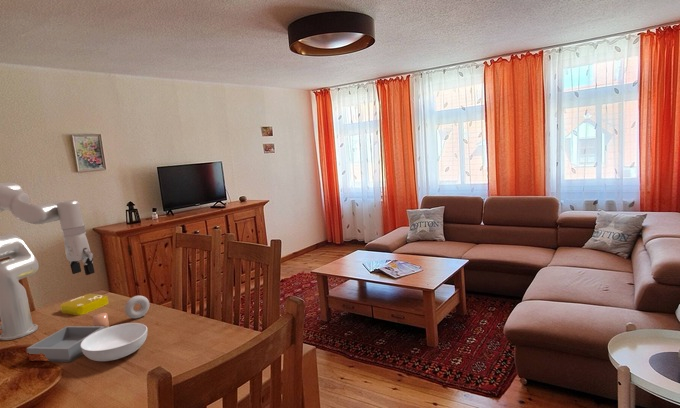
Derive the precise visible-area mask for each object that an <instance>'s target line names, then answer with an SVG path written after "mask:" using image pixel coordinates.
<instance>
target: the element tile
mask: <svg viewBox="0 0 680 408" xmlns="http://www.w3.org/2000/svg"><path fill="white" fill-rule="evenodd" d="M108 304H109V298H108V295H105V294H96V293H86V294H83V295H81V296H78V297H76V298H73V299H71V300H68V301H65V302H63V303H61V304H60V305H59V306H60V311H61V313H62V314H66V315H67V314H68V315H73V316H83V315H86V314H87V313H90V312H92V311H96V310H98V309H100V308H101V307H104V305H105V306H107V305H108Z"/></svg>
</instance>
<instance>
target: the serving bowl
mask: <svg viewBox="0 0 680 408" xmlns="http://www.w3.org/2000/svg"><path fill="white" fill-rule="evenodd" d="M147 337H148V327H147V325H145V324H144V323H140V322H126V323H120V324H115V325H112V326H109V327H108V328H105V329H102V330H99V331H97V332H95V333H93V334H91V335H89V336H88V337H86V338H85V339H84V340H83V341H82V342H81V344H80V347H81V350H82V352H83V354H82V355H83V356H85V357H86V358H87V359H89V360H91V361H95V362H109V361H115V360H119V359H122V358H125V357H127V356H129V355H131V354H133V353H135V352H137V350H139V348H141V347H142V346H143V345H144V343H145V342H146V339H147Z"/></svg>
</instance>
